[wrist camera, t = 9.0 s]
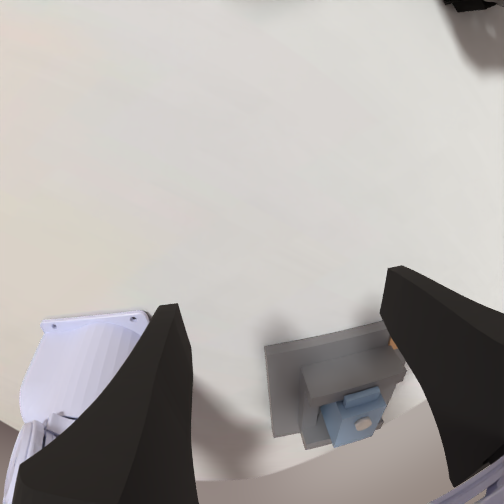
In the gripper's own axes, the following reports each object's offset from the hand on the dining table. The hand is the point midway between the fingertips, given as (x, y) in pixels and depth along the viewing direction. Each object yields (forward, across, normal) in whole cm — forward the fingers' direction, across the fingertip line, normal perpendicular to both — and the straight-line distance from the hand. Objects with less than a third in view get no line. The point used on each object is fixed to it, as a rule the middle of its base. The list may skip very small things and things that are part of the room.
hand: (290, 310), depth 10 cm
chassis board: (+9, -7, +19) cm, 22 cm away
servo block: (+8, -7, +19) cm, 22 cm away
